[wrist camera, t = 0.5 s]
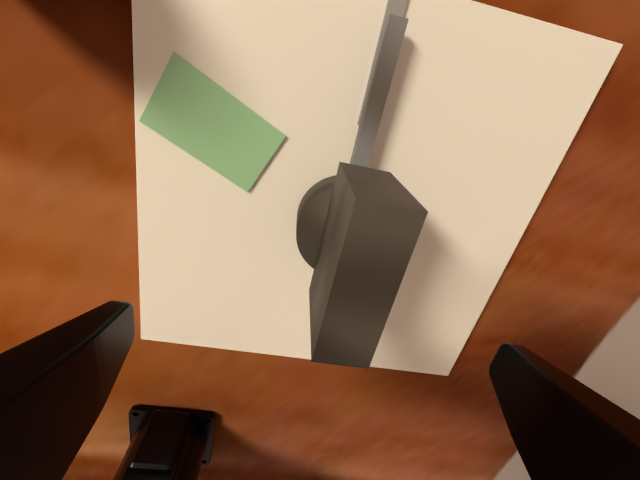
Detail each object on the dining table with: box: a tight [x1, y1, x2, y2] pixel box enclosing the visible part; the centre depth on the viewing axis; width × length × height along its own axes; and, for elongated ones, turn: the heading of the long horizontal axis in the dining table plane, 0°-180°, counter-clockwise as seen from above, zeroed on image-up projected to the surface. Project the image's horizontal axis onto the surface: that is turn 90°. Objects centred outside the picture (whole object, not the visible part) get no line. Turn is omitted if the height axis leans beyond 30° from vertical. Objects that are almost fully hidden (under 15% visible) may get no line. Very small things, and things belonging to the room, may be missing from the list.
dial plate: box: [132, 0, 623, 376], centre depth 19 cm, size 22×22×1 cm
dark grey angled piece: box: [296, 14, 428, 369], centre depth 14 cm, size 13×5×7 cm, turn 168°
